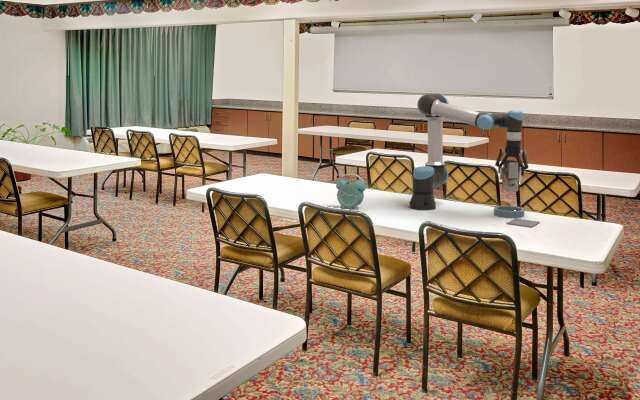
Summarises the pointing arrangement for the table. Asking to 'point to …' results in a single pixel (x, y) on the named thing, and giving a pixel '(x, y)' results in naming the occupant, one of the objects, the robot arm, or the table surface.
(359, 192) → the alarm clock
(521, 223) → the mat
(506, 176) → the coffee box
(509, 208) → the bowl
